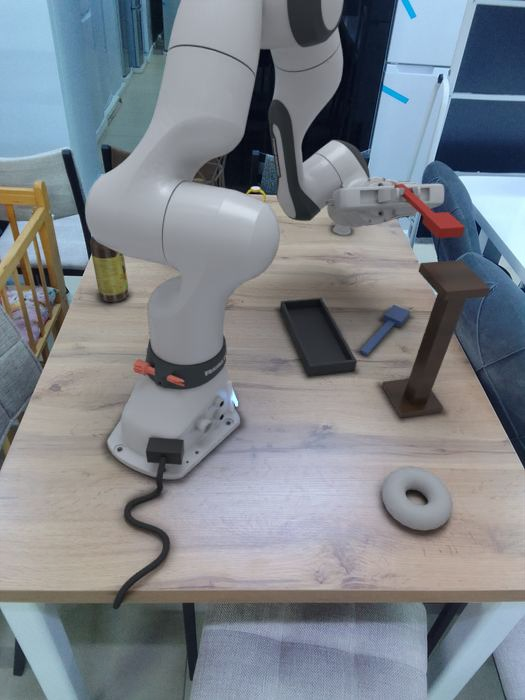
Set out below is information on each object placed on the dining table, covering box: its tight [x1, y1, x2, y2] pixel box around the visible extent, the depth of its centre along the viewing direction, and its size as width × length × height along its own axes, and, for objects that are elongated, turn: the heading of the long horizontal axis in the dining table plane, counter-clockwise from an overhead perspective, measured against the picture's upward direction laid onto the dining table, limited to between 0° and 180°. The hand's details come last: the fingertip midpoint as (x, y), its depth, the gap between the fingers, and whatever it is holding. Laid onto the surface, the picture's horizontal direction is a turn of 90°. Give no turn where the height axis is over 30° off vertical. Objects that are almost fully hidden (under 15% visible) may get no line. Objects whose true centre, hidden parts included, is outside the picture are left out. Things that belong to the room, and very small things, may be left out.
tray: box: [279, 297, 358, 377], centre depth 102 cm, size 21×9×2 cm, turn 13°
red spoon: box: [394, 184, 466, 239], centre depth 81 cm, size 18×4×2 cm, turn 13°
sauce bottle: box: [89, 235, 129, 303], centre depth 104 cm, size 6×6×20 cm
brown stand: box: [381, 259, 491, 419], centre depth 83 cm, size 8×8×26 cm
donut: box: [381, 466, 453, 531], centre depth 73 cm, size 10×4×10 cm
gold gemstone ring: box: [245, 185, 267, 203], centre depth 147 cm, size 6×3×6 cm, turn 85°
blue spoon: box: [359, 304, 411, 357], centre depth 105 cm, size 18×4×2 cm, turn 144°
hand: (408, 192), depth 84 cm, fingers closed on red spoon, 2 cm apart
